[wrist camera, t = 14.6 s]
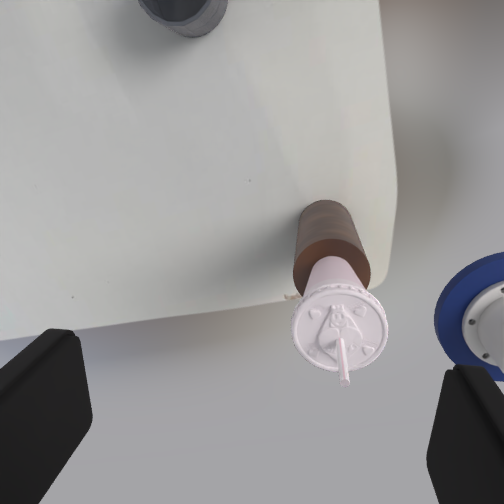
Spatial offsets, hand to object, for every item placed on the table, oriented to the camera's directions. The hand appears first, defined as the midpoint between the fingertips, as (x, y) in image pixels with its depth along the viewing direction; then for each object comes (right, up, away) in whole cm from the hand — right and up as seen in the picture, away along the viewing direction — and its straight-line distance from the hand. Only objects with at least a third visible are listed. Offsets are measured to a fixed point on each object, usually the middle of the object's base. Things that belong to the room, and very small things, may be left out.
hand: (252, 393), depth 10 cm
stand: (+9, +7, +39) cm, 41 cm away
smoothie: (+7, +2, +25) cm, 26 cm away
